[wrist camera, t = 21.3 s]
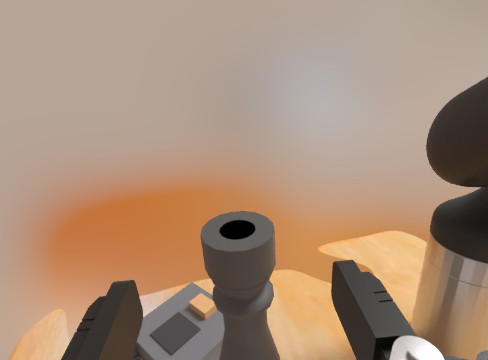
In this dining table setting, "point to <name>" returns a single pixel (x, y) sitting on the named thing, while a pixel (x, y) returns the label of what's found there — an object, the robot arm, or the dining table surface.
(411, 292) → the dining table surface
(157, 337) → the grey compartment tray
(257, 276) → the candle holder
